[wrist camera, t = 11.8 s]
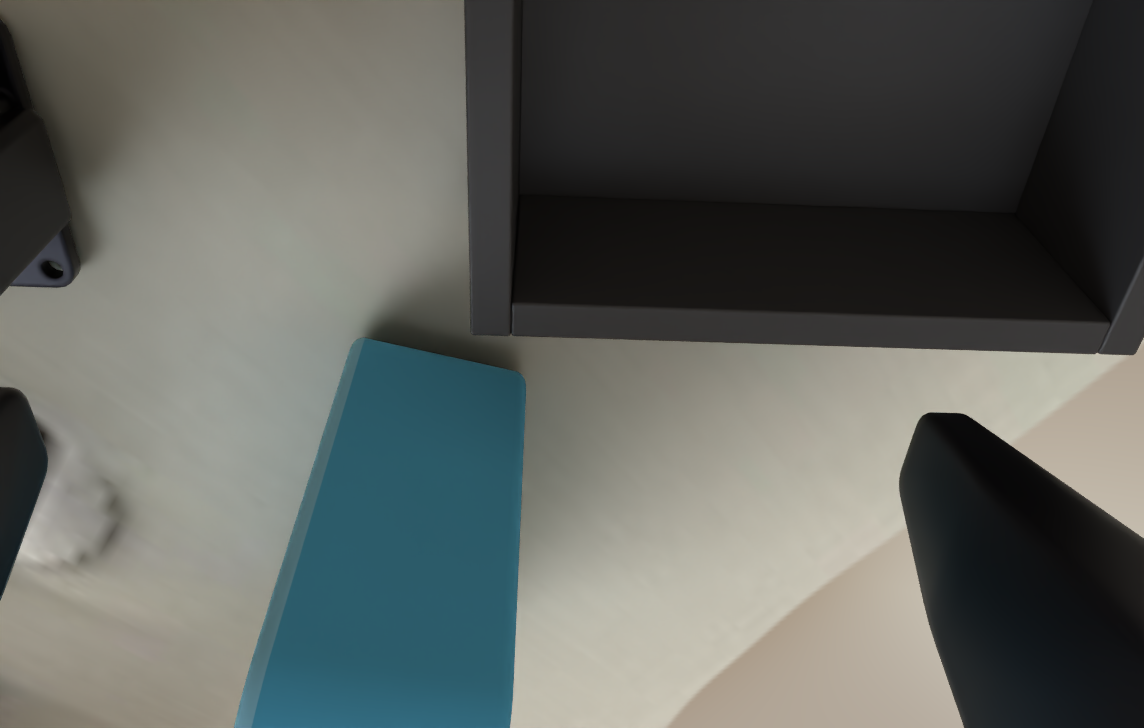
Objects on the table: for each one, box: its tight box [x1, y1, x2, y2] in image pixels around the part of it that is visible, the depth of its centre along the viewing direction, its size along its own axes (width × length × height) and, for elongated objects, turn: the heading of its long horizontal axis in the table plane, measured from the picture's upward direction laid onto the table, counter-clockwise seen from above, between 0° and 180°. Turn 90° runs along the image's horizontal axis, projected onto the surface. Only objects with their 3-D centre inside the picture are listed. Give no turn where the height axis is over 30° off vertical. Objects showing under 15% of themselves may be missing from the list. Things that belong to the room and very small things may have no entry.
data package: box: [234, 338, 526, 728], centre depth 23 cm, size 12×4×12 cm, turn 164°
